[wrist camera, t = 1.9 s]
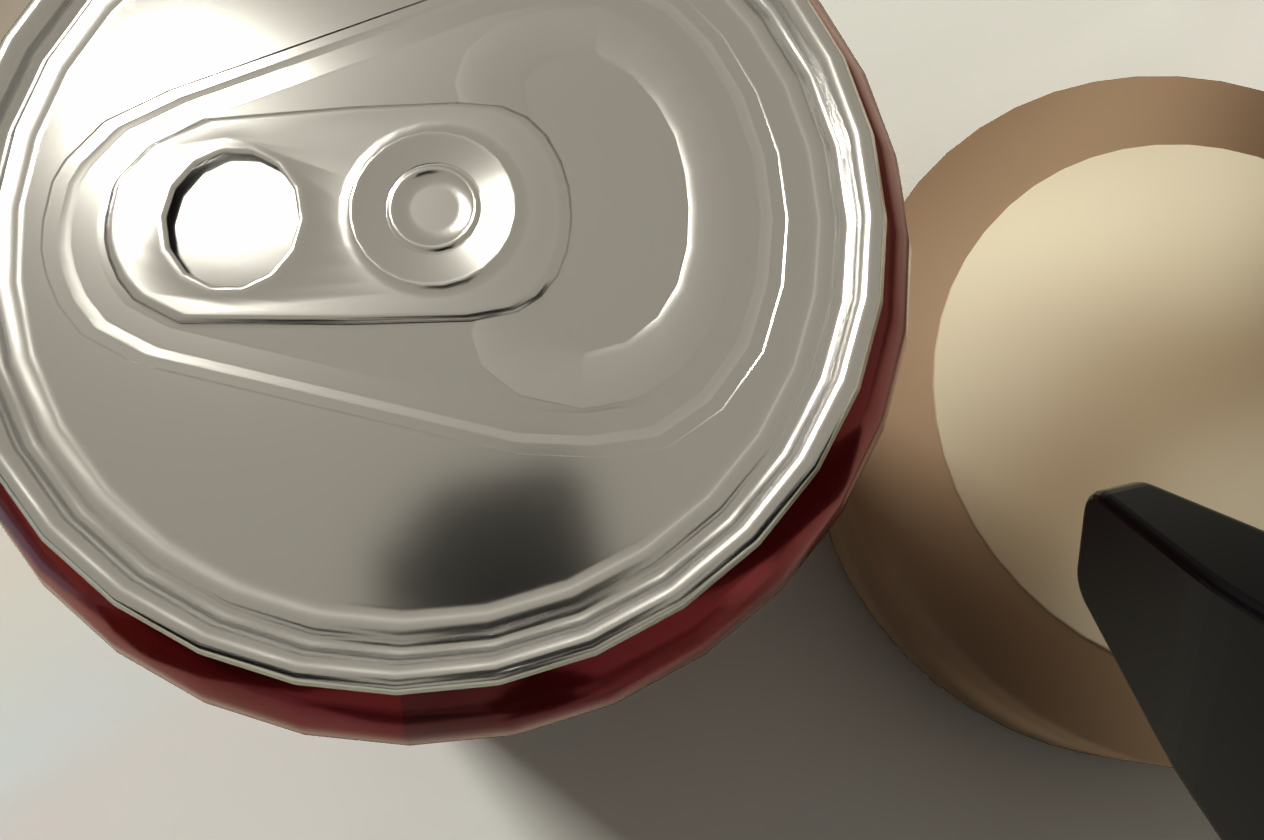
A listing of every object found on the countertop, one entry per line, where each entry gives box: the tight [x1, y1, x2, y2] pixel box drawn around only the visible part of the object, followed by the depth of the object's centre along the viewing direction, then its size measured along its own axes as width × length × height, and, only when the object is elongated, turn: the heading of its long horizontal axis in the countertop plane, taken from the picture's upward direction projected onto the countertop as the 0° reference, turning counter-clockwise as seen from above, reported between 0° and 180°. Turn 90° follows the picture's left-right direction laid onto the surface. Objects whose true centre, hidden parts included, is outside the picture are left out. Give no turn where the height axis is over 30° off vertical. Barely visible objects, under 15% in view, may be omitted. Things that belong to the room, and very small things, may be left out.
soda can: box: [0, 0, 912, 746], centre depth 14 cm, size 7×7×12 cm
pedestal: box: [828, 76, 1264, 768], centre depth 18 cm, size 11×11×3 cm
